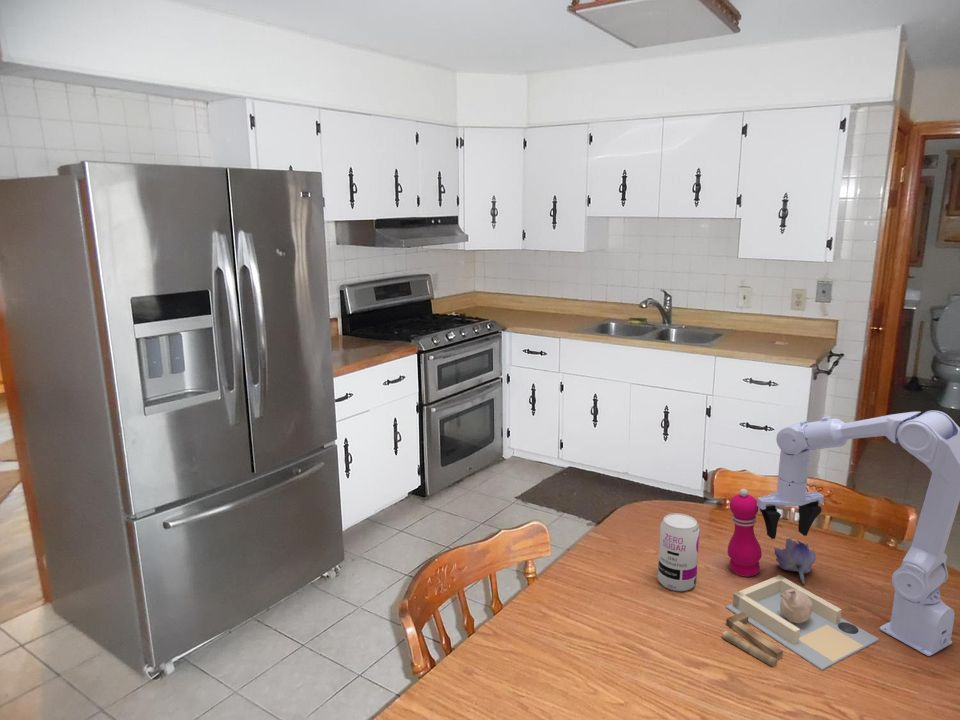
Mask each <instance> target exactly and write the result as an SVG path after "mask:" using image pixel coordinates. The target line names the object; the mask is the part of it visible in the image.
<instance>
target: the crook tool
mask: <svg viewBox="0 0 960 720" xmlns="http://www.w3.org/2000/svg"><path fill="white" fill-rule="evenodd" d="M748 618H749V616H747V615H746V614H744V613H743V612H742V613H739V614H737V615H736V614H734V615H732V616H730V617H727V618H725V619H726V621H725V625H726V627H728V628H730V630H733V632H735V633H737V634H738V635H740V636H741V637H742V638H744V639H745V640H747V641H749V642H750V643H751V644H752V645H753V646H755V647H756V648H758V649H760V650H761V651H763V652H765V653H767V654H769V655H770V656H772V657H774V658H776V659H777V661H778V660H779V659H782V658H783V657H784V656H783V654H784V650H783V649H781V648H780V647H778V646H777V645H775V644H773V643H772V642H771V641H769V640H768V639H766V638H765V637H763V636H762V635H761V634H759V633H757V632H756V631H755V630H753V629H751V628H750V627H749V626H747V625H746V624H749V623H748Z"/></svg>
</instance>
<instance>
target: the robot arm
mask: <svg viewBox="0 0 960 720" xmlns="http://www.w3.org/2000/svg"><path fill="white" fill-rule="evenodd" d="M921 412H922V411H909V412H901V413H895V414H894V413H893V414H888V415H881V416H877V417H871V418H867V419H860V420H855V421H850V422H844V421H843V420H841V419H839V418H832V417H831V416H830V415H828V416H824V417H823V416H822V417H821V419H820V420H817V421H812V422H811V421H810V422H809V421H808V420H802V421H800V422H796V423H795V424H792V425H789V426H787V427H784V428H782V429H781V430H779V432H777V434H776V443H777V446H778V448H779V450H780V453H779V464H778V476H777V485H776V486H777V487H776V492H774V493H772V494H768V495H765V496H762V497H761V496H760V497H757V499H756V500H757V506H758V507H759V508H758V510H759V511H760V513H761V515H762V518H763V520H764V524H765V528H766V535H767V536H768V537H769V539H771V540H776V536H777V532H778V531H777V530H778V524H779V521H780V518H781V516H782V514H781V513H780V512H779V511H778V509H777V507H798V516H799V517H798V527H797V528H798V532H799V533H800V534H801V535H803V536H804V537H806V536H808V534H809V531H810V528H811V526H812V525H813V523H814V521H815V520H816V518H817V517H818V516H819V515H820V514H821V513H822V507H821V506H820V505H823V504H824V497H825V496H824V495H823V494H822V493H820V492H818V491H817V492H807V485H808V483H807V482H808V474H809V465H810V457H811V456H810V455H811V451H814V450H823V449H831V448H832V449H833V448H840V447H844V446H845V445H846V444H847V443H848V440H855V439H865V438H866V439H867V438H874V437H886V438H887V439H888V440H889V441H890V442H892V443H893V444H897V443H899V444H900V446H901V447H902V448H903V449H904V450H905V451H907V452H908V453H909V454H910V455H912V456H914V458H916V459H917V460H918V461H920V462H922V463H923V464H924V465H925V466H926V467H927V468H928V469H929V470H930V471H931V476H930V480H929V482H928V487H927V488H926V489H927V490H926V493H925V496H924V497H925V498H924V501H923V504H922V507H921V511H920V514H919V518H918V522H917V525H916V528H915V532H914V536H913V539H912V542H911V546H910V547H909V549H908V551H907V552H906V554H905V556H904V557H903V559H902V562H901V565H900V567H899V568H898V569H896V570H895V571H894V572H893V574H892V576H891V584H892V587H893V588H894V595H893V603H892V609H891V615H890V621H889V622H886V623H884V624H883V625H880V626H879V630H880V631H882V632H883V633H885V634H887V635H889V636H891V637H892V638H894V639H896V640H898V641H899V642H902V643H903V644H905V645H907V646H908V647H911V648H913V649H915V650H916V651H918V652H919V653H922V654H924V655H926V656H927V657H931V656H932V655H934V654H936V653H938V652H940V651H941V650H943V649H945V648H946V647H948V646H950V645H952V644H953V641H952V634H953V628H954V621H955V617H956V615H955V611H954V609H953V608H952V607H950V606H948V605H947V604H946V603H944V602H943V600H942V599H941V592H940V586H941V585H943V584H945V583H946V582H947V579H948V578H949V577H948V576H949V573H948V568H947V560H948V555H947V553H945V551H946V546H947V543H948V540H949V537H950V534H951V531H952V528H953V524H954V521H955V517H956V513H957V512H958V509H959V505H960V426H959V425H958V424H957V423H956V422H955V421H954V420H953V419H952V417H950V416H949V415H948V414H947V413H945V412H944V411H940V410H927V411H925V412H923V413H922V414H920V413H921ZM919 414H920V415H919ZM918 415H919V416H918Z"/></svg>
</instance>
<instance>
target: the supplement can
mask: <svg viewBox="0 0 960 720" xmlns="http://www.w3.org/2000/svg"><path fill="white" fill-rule="evenodd" d="M700 529H701V528H700V527H699V525H698V521H697V519H695V518H694V517H692V515H691V516H690V515H688V514H684V513H677V512H676V513H674V512H673V513H669V514H667V515H665V516H664V517H663V519H662V521H661V523H660V525H659V542H658V543H659V544H658V559H657V560H658V562H657V563H658V564H657V581H658V582H660V584H661V585H662V586H663V587H664V588H666V589H668V590H671V591H674V592H687V591H689V590H691V589H693V588H694V587H695V586H696V584H697V578H698V577H697V576H698V563H699V562H698V561H699V560H698V559H699V549H700V548H699V547H700V532H701V530H700Z"/></svg>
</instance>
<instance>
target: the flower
mask: <svg viewBox="0 0 960 720" xmlns="http://www.w3.org/2000/svg"><path fill="white" fill-rule="evenodd" d="M773 550H774V555H775V556H776V558H775V560H776V562H777V563H778V566H779V567H780V569H782V570H784V571H790V572H798V574H799V578H800V581H801V584H802V586H804V585H805V574H808V573H810V572H811V570H812V565H813V564H814V563H815V561H816V559H817V553H816V552H815V550H814V549H813V548H812V550H810V547H809V543H806V544H805V543H804V542H801V541H800V540H799V539H797V540H796V541H795V540H793V541H792V539H791V537H789V538H788V537H787V538H786V540H785V548H783V549H780V548H777V547H774V549H773Z"/></svg>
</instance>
